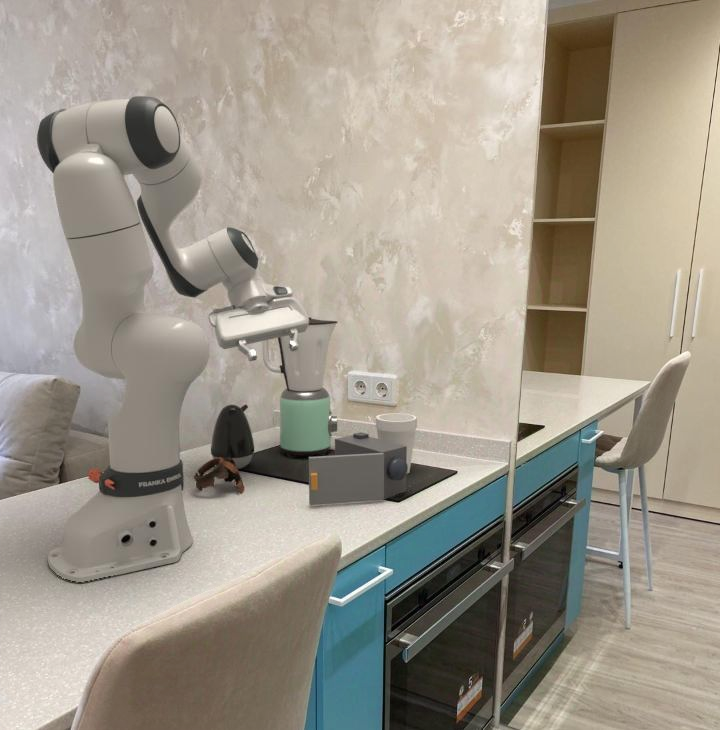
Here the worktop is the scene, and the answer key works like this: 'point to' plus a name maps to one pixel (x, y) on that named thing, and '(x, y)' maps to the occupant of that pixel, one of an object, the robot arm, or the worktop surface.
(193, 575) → the worktop surface
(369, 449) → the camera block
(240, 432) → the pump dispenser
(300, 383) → the green blender
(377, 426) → the foam cup
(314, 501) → the side door
